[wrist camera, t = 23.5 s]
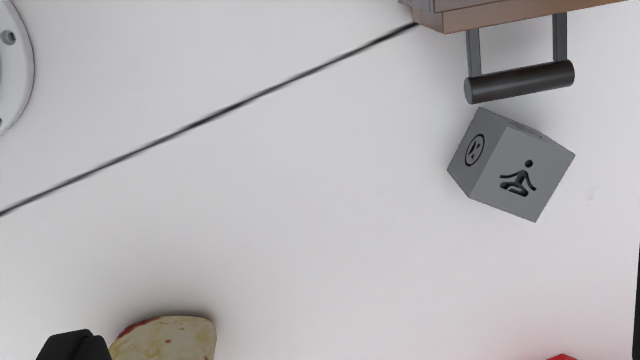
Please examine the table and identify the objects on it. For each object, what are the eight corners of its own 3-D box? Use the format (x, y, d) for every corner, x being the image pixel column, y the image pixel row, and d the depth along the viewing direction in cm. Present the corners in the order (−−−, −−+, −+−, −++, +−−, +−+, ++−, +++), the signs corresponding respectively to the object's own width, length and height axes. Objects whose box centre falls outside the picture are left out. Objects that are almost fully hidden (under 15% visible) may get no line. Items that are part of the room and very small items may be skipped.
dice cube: (446, 170, 39) (468, 197, 35) (479, 106, 38) (506, 126, 33) (506, 193, 40) (535, 222, 36) (540, 132, 39) (575, 154, 34)
